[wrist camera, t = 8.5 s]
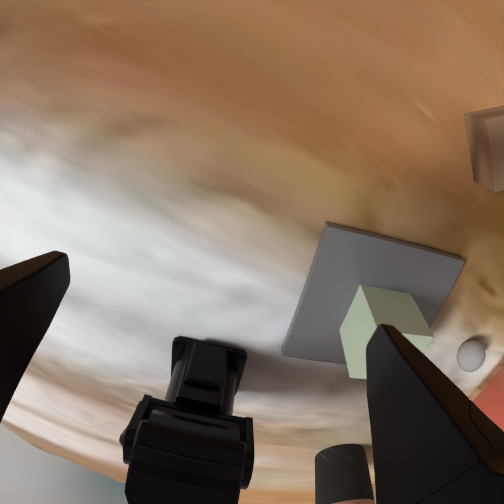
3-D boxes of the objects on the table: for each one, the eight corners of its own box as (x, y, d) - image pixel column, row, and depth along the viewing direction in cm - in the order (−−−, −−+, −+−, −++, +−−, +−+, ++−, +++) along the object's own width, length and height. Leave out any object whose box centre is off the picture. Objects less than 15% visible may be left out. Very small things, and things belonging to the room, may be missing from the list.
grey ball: (467, 357, 27) (478, 378, 24) (447, 355, 27) (457, 378, 24) (482, 334, 25) (495, 355, 23) (462, 332, 25) (475, 354, 22)
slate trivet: (399, 362, 27) (402, 368, 26) (281, 349, 27) (281, 355, 26) (460, 256, 22) (465, 261, 21) (325, 221, 21) (327, 226, 20)
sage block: (387, 336, 25) (403, 381, 20) (339, 330, 24) (349, 377, 20) (410, 293, 22) (433, 337, 18) (360, 284, 22) (377, 329, 18)
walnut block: (516, 165, 18) (539, 177, 15) (472, 179, 19) (494, 193, 16) (508, 104, 16) (533, 109, 13) (461, 113, 17) (485, 119, 14)
